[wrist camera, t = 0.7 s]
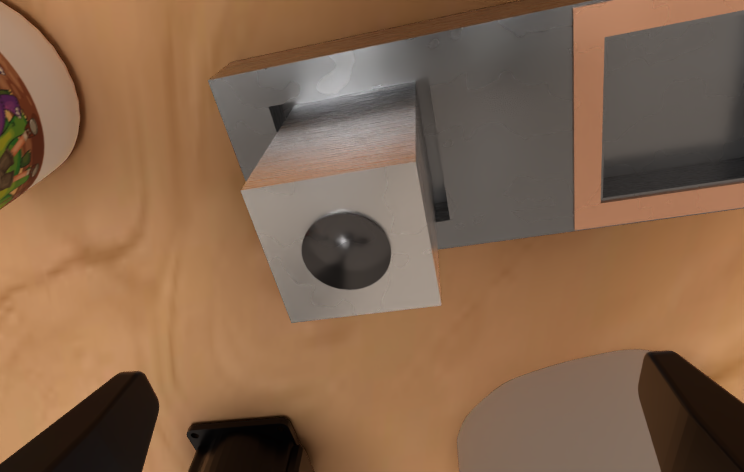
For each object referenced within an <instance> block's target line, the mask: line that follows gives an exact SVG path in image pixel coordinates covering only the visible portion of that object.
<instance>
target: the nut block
mask: <svg viewBox="0 0 744 472" xmlns="http://www.w3.org/2000/svg"><path fill="white" fill-rule="evenodd" d="M241 193H242V196H243V198H244V201H245V204H246V206H247V209H248V211H249V214H250V216H251V219H252V222H253V224H254V227H255V229H256V232H257V235H258V237H259V240H260V242H261V245H262V248H263V250H264V253H265V255H266V258H267V261H268V263H269V266H270V268H271V271H272V274H273V276H274V279H275V281H276V284H277V287H278V289H279V292H280V294H281V297H282V299H283V302H284V305H285V307H286V310H287V312H288V315H289V318H290V320H291V323H295V322H304V321H312V320H321V319H329V318H338V317H347V316H355V315H364V314H372V313H381V312H390V311H398V310H407V309H415V308H424V307H433V306H441V290H440V276H439V261H438V247H437V232H436V218H435V203H434V191H433V185H432V179H431V173H430V167H429V161H428V155H427V149H426V143H425V137H424V131H423V125H422V119H421V113H420V107H419V101H418V95H417V89H416V83H415V81H414V82H409V83H404V84H399V85H394V86H388V87H383V88H378V89H373V90H368V91H362V92H357V93H352V94H347V95H342V96H337V97H331V98H326V99H321V100H316V101H311V102H305V103H300V104H295V106H294V107H293V109H292V110H291V112H290V113H289V115H288V117H287V118H286V120H285V121H284V123H283V124H282V126H281V128H280V129H279V131H278V132H277V134H276V135H275V137H274V139H273V140H272V142H271V143H270V145H269V146H268V148H267V150H266V151H265V153H264V154H263V156H262V158H261V159H260V161H259V162H258V164H257V165H256V167H255V169H254V170H253V172H252V173H251V175H250V176H249V178H248V180H247V181H246V183H245V184H244V186H243V187H242V189H241Z"/></svg>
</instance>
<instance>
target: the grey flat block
mask: <svg viewBox="0 0 744 472" xmlns="http://www.w3.org/2000/svg"><path fill="white" fill-rule="evenodd" d="M414 81H415V83H416V89H417V95H418V101H419V107H420V113H421V119H422V125H423V131H424V137H425V143H426V149H427V155H428V161H429V167H430V173H431V179H432V185H433V191H434V203H435V218H436V232H437V247H438V249H446V248H453V247H461V246H468V245H475V244H483V243H490V242H498V241H505V240H512V239H520V238H527V237H535V236H542V235H549V234H557V233H564V232H571V231H579V230H586V229H594V228H601V227H608V226H616V225H623V224H631V223H638V222H645V221H653V220H660V219H668V218H675V217H682V216H690V215H697V214H705V213H712V212H719V211H727V210H734V209H741V208H744V0H521V1H516V2H512V3H507V4H502V5H497V6H493V7H488V8H483V9H479V10H474V11H469V12H465V13H460V14H455V15H450V16H446V17H441V18H436V19H432V20H427V21H422V22H418V23H413V24H408V25H403V26H399V27H394V28H389V29H385V30H380V31H375V32H371V33H366V34H361V35H356V36H352V37H347V38H342V39H338V40H333V41H328V42H324V43H319V44H314V45H310V46H305V47H300V48H295V49H291V50H286V51H281V52H277V53H272V54H267V55H263V56H258V57H253V58H248V59H244V60H239V61H234V62H230V63H229V64H228V65H227V66H225V67H224V68H223V69H222V70H220V71H219V72H218V73H216V74H215V75H214V76H213V77H211V78H210V79H209V80H208V82H209V85H210V88H211V90H212V93H213V96H214V98H215V101H216V104H217V106H218V109H219V112H220V114H221V117H222V120H223V122H224V125H225V128H226V130H227V133H228V135H229V138H230V141H231V143H232V146H233V149H234V151H235V154H236V157H237V159H238V162H239V165H240V167H241V170H242V173H243V175H244V178H245V181H247V180H248V178H249V176H250V175H251V173H252V172H253V170H254V169H255V167H256V165H257V164H258V162H259V161H260V159H261V158H262V156H263V154H264V153H265V151H266V150H267V148H268V146H269V145H270V143H271V142H272V140H273V139H274V137H275V135H276V134H277V132H278V131H279V129H280V128H281V126H282V124H283V123H284V121H285V120H286V118H287V117H288V115H289V113H290V112H291V110H292V109H293V107H294V106H295V104H300V103H305V102H311V101H316V100H321V99H326V98H331V97H337V96H342V95H347V94H352V93H357V92H362V91H368V90H373V89H378V88H383V87H388V86H394V85H399V84H404V83H409V82H414Z"/></svg>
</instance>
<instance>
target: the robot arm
mask: <svg viewBox="0 0 744 472" xmlns="http://www.w3.org/2000/svg"><path fill="white" fill-rule="evenodd" d="M638 395H639V400H640V403H641V406H642V410H643V413H644V416H645V420H646V423H647V426H648V430H649V433H650V436H651V440H652V443H653V446H654V450H655V453H656V456H657V460H658V463H659V466H660V470H661V472H744V403H742V402H741V401H740V400H738V399H737V398H736V397H734V396H733V395H732V394H730V393H729V392H728V391H726V390H725V389H724V388H722V387H721V386H720V385H718V384H717V383H716V382H714V381H713V380H712V379H710V378H709V377H708V376H706V375H705V374H704V373H703V372H701V371H700V370H699V369H697V368H696V367H695V366H693V365H692V364H691V363H689V362H688V361H687V360H685V359H684V358H683V357H681V356H680V355H679V354H677V353H675V352H673V351H650V352H647V353H646V354H645V356H644V358H643V363H642V368H641V373H640V378H639V382H638ZM158 412H159V401H158V398H157V396H156V394H155V392H154V390H153V388H152V387H151V385H150V383H149V381H148V379H147V377H146V375H145V374H144V373H142V372H140V371H132V372H121V373H119V374H117V375H116V376H114V377H113V378H112V379H110V380H109V381H108V382H106V383H105V384H104V385H102V386H101V387H100V388H99V389H97V390H96V391H95V392H93V393H92V394H91V395H89V396H88V397H87V398H86V399H84V400H83V401H82V402H80V403H79V404H78V405H76V406H75V407H74V408H73V409H71V410H70V411H69V412H67V413H66V414H65V415H63V416H62V417H61V418H60V419H58V420H57V421H56V422H54V423H53V424H52V425H51V426H49V427H48V428H47V429H45V430H44V431H43V432H41V433H40V434H39V435H38V436H36V437H35V438H34V439H32V440H31V441H30V442H28V443H27V444H26V445H24V446H23V447H22V448H21V449H19V450H18V451H17V452H15V453H14V454H13V455H11V456H10V457H9V458H8V459H6V460H5V461H4V462H2V463H1V464H0V472H142V470H143V466H144V463H145V459H146V455H147V452H148V448H149V445H150V441H151V438H152V434H153V430H154V427H155V423H156V420H157V416H158ZM187 437H188V438H189V440H190V442H191V443H192V445H193V446H194V448H195V450H196V453H195V456H194V458H193V461H192V463H191V465H190V468H189V470H188V472H314V470H313V467H312V465H311V463H310V461H309V458H308V456H307V454H306V452H305V449H304V448H303V447H302V446H301V445H300V442H299V440H298V438H297V436H296V434H295V431H294V429H293V427H292V425H291V422H290V421H289V420H288V419H286V418H270V419H258V420H246V421H234V422H222V423H210V424H198V425H191V426H190V427H189V429H188V432H187Z"/></svg>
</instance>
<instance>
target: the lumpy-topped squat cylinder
mask: <svg viewBox="0 0 744 472" xmlns="http://www.w3.org/2000/svg"><path fill="white" fill-rule="evenodd" d="M647 352H650V351H649V350H620V351H613V352H608V353H603V354H598V355H594V356H589V357H584V358H580V359H575V360H571V361H567V362H563V363H560V364H556V365H553V366H550V367H546V368H543V369H540V370H537V371H534V372H531V373H528V374H525V375H522V376H519V377H517V378H514V379H512V380H510V381H508V382H506V383H504V384H502V385H501V386H499V387H498V388H497V389H495V390H494V391H493V392H491V393H490V394H489V395H488V396H487V397H485V398H484V399H483V400H482V401H481V402H480V403H479V404H478V405H476V406H475V407H474V408H473V409H472V411H471V412H470V413H469V414H468V415H467V417H466V418H465V420H464V421H463V423H462V426H461V428H460V430H459V433H458V438H457V449H458V462H459V472H661V470H660V466H659V463H658V460H657V456H656V453H655V450H654V446H653V443H652V440H651V436H650V433H649V430H648V426H647V423H646V420H645V416H644V413H643V410H642V406H641V403H640V400H639V395H638V382H639V378H640V373H641V368H642V363H643V358H644V356H645V354H646V353H647Z"/></svg>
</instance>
